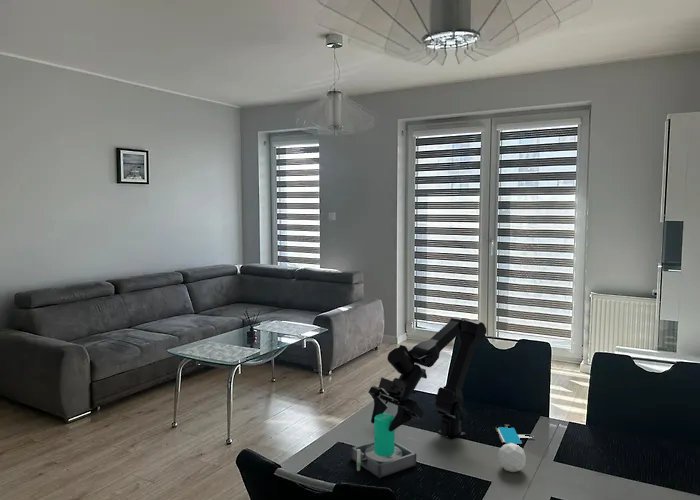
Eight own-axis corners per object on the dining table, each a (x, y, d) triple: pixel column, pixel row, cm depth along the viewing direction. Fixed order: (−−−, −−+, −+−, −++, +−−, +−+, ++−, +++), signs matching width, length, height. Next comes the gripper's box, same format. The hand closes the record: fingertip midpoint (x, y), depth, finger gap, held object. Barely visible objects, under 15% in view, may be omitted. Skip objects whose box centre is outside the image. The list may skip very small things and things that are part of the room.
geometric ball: (516, 482, 153) (522, 469, 147) (490, 465, 156) (495, 452, 151) (527, 462, 157) (533, 448, 152) (502, 446, 161) (507, 432, 155)
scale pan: (386, 443, 166) (386, 440, 166) (410, 457, 157) (410, 454, 157) (350, 454, 158) (350, 451, 158) (373, 470, 149) (373, 466, 149)
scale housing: (387, 447, 168) (387, 429, 167) (416, 465, 157) (416, 445, 156) (343, 461, 159) (343, 441, 158) (371, 480, 147) (371, 459, 147)
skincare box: (388, 413, 196) (389, 380, 195) (400, 415, 194) (400, 382, 193) (381, 419, 190) (382, 385, 189) (393, 421, 188) (394, 388, 187)
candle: (386, 458, 154) (386, 417, 153) (370, 452, 158) (370, 412, 157) (398, 450, 159) (398, 411, 158) (382, 445, 163) (382, 406, 162)
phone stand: (542, 453, 166) (542, 448, 166) (503, 451, 167) (503, 446, 167) (526, 427, 186) (526, 422, 186) (491, 425, 187) (491, 421, 187)
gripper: (372, 360, 166) (345, 403, 160) (417, 375, 152) (389, 422, 145) (390, 379, 171) (364, 422, 165) (435, 395, 157) (408, 442, 151)
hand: (380, 426), depth 157 cm, fingers open, 7 cm apart
